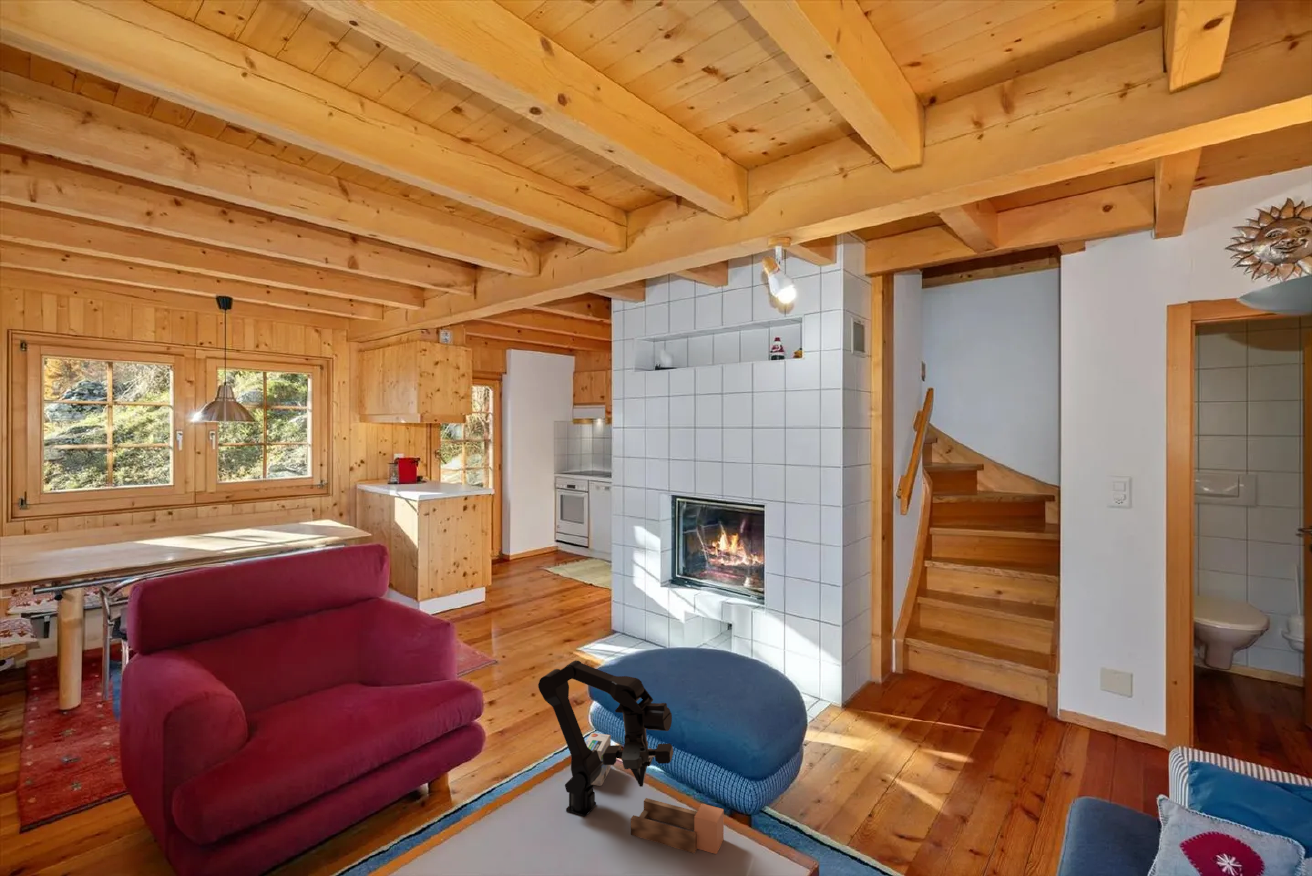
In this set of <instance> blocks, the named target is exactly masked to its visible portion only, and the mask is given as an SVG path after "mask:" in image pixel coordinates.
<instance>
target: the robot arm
mask: <svg viewBox="0 0 1312 876" xmlns="http://www.w3.org/2000/svg"><path fill="white" fill-rule="evenodd" d="M570 680H575V681H577V682H580V683H582V684H585V685H587V686H589V687H591V688H594V689H597V690H600V691H602V692H603V693H604V692H605V693H607V694H609V696H610V697H611V698H612V699H613V701H615V702H617V703H619V705H618V706H617V707H616V709H615V711H614V712H615V713H622V718H623V727H624V734H625V735H624V744H623V749H622V746H621V745H619V744H617V745H615V744H614V745H612V744H611V746H608V747H607V748H606V750H605V752H604V754H603V758H602V759H603V764H604V765H611V766H614V765H615V764H616V762H617V761H618V759H621V761H622V765H623V768H624V770H630V771H631V773H632V774H633V776H634V778H635V779H636V781H637V784H638V786H639V787H640V788H641V787H643V786H644V784H645V779H646V773H647V770H648V769H647V768H648V767H650V766H651V764H652V762H653V760H654V759H655V762H656V763H657V764H659V765H661V764H670V763H671V761H672V758H673V755H674V747H673V745H672V743H658V744H657V746H656V748H649V742H648V738H647V730H648V731H660V732H661V731H662V732H663V731H664V732H668V731H670V730H671V726H672V722H673V721H672V720H673V717H672V716H673V715H672V712H671V709H670V708H669V707H668V703H666V702H661V703H660V702H659V703H657V702H656V703H655V702H653V701H654V699H653V697H652V696H651V695H650V694H649V692H648V691H647V690H646V688H645V687H644V684H643V683H642V680H640V679H639V678H638V677H632V676H627V675H624V676H622V675H621V676H619V675H618V676H617V675H613V674H611V673H608V672H606V671H604V670H603V671H602V670H600V669H598V668H595V667H592V666H590V665H587V664H586V663H585V664H584V663H582V661H580V660H573V661H571V662H569V663H568V664H567V665H565V666H564V667H563V668H554V669H553V670H551V671H550V672H548V673H546V675H543V676H542V677H541V678H539V680H538V681H539V682H538V684H537V687H538V691H539V692H540V695H541V696H542V697H543V699H544V701H545V702H546V703H548V705H550V706H551V707H552V709H553V711H554V714H555V716H556V719H557V722H558V725H559V727H560V729H561V732H562V735H563V737H564V740H565V743H566V745H567V747H568V750H569V753H570V756H571V757H570V759H571V760H570V771H571V776H572V777H571V778H569V780H568V781H567V782H566V783H564V784H565V785H564V787H565V791H566V793H568V806H567V807H566V808H565V811H566V812H567V813H571V814H575V815H578V816H582V817H587V815H588V814H589V813H590V812H591V811H592V810H593V809H594V807H595V806H596V805H597V802H596V795H595V791H594V785H591V784H592V783H593V782H594V781H595V780H596V778H597V777H598V776H599V775H600V773H601V770H602V767H601V764H602V761H601V760H600V758H599V756H598V752H597V750H594V751H591V750H590V749H589V748H588V747H587V745H586V743H585V742H586V741H585V737H584V735H583V733H582V729H581V728H580V725H579V722H578V719H577V717H576V714H575V712H574V709H573V708H572V707H573V706H572V704H571V702H570V697H569V696H570V695H569V693H570V685H569V681H570ZM640 699H642V700H641V701H639V700H640ZM638 701H639V703H638Z"/></svg>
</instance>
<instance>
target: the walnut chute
mask: <svg viewBox="0 0 1312 876" xmlns="http://www.w3.org/2000/svg"><path fill="white" fill-rule="evenodd" d="M697 811H698V810H697ZM697 811H696V810H694V809H689V808H687V807H686V808H685V807H682V806H678V805H673V804H671V803H666V802H663V801H660V800H656V799H651V798H647V797H645V798H644V800H643V810H642V812H641V813H640V814H639V816H637V815H635V814H634V815H632V816H631V818H630V836H634V837H637V838H641V839H644V840H647V841H651V842H655V843H657V844H660V845H664V846H668V847H672V848H675V849H679V850H680V851H681V850H682V851H685V852H688V853H691V854H694V855H695V854H696V852H697V850H698V849H697V833H695V832H694V817H695V815H696V813H697ZM691 830H692V831H691Z"/></svg>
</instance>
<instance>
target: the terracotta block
mask: <svg viewBox="0 0 1312 876" xmlns="http://www.w3.org/2000/svg"><path fill="white" fill-rule="evenodd" d="M724 814H725V811H724V808H720V807H717V806H712V805H709V804H705V803H701V804H700V806H699V808H698V809H697V813H696V815H695V817H694V830H693V832H695V833H697V850H700V851H705V852H708V853H711V854H715V855H717V854H718V853H719V850H720V848H721V846H722V844H723V842H724V840H725V839H724V837H725V836H724V833H725V831H724V828H725V827H724V824H725V823H724V820H725V818H724V816H725V815H724Z"/></svg>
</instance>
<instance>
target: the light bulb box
mask: <svg viewBox="0 0 1312 876" xmlns="http://www.w3.org/2000/svg"><path fill="white" fill-rule="evenodd" d="M611 737H612V735H611V734H606V733H605V734H604V733H597V732H590V734H589V736H588V737H587V739H586V741H585V743H586V745H587V747H588V748H589V749H590V750H591V751H594V750H597V752H598V756H599V758H600V760H601V761H602V764H601V767H602V770H601V773H600V775H599V776H598V777H597V778H596V780H595V781H594V782H593V783H592V784H591V785H593V786H598V787H602V786H603V784H604V782H605V780H606V778H607V776H608V774H609V772H610V771H611V766H612V765H604V764H603V759H602V758H603V754H604V752H605V750H606V748H607V747H608V746H612V743H611V742H612V741H611V739H612V738H611Z"/></svg>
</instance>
